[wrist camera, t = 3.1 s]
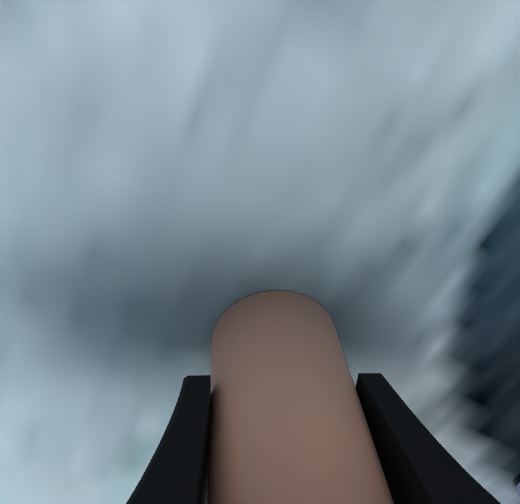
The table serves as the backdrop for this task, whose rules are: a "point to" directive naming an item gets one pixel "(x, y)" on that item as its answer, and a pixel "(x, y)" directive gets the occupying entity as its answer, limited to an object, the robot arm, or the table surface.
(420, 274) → the table surface
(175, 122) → the table surface
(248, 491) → the peg
